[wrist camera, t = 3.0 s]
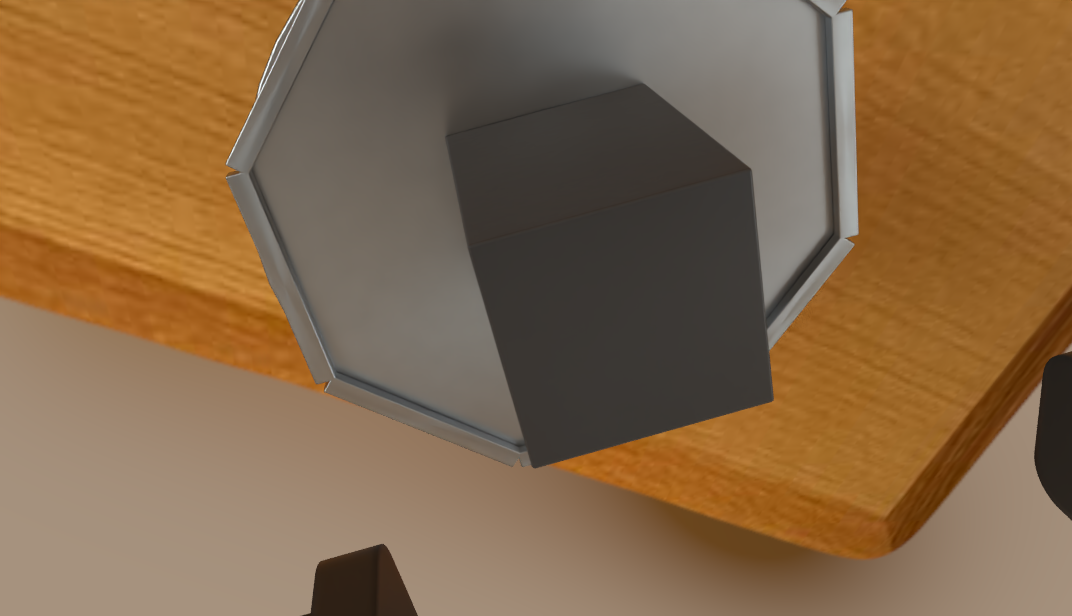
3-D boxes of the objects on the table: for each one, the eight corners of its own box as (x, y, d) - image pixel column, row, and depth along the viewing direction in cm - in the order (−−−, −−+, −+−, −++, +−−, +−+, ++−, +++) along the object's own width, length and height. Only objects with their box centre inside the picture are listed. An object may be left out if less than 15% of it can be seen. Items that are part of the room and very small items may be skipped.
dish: (375, 322, 31) (367, 516, 21) (227, -71, 24) (120, -40, 15) (724, 226, 31) (867, 374, 22) (676, -187, 24) (854, -230, 15)
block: (495, 312, 20) (533, 470, 14) (444, 136, 17) (466, 245, 12) (673, 263, 20) (775, 402, 14) (645, 82, 17) (752, 167, 12)
